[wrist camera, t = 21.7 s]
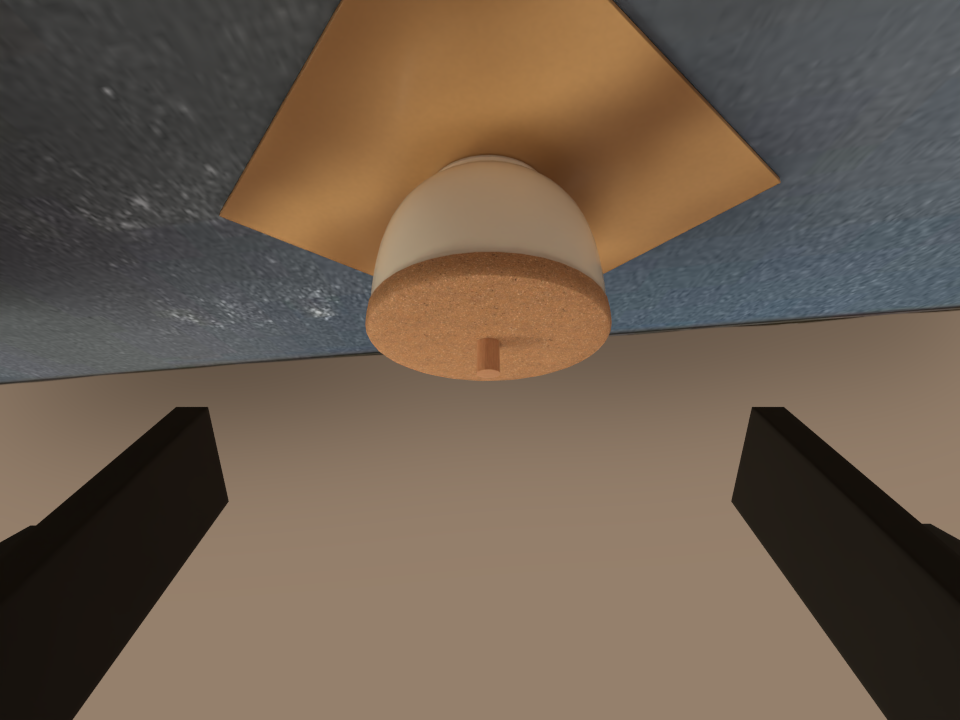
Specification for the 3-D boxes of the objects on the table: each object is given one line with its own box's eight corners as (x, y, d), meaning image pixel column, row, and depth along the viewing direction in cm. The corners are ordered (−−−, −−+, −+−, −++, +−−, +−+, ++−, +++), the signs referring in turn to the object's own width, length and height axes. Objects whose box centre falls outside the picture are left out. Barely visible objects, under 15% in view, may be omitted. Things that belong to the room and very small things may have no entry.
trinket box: (570, 263, 31) (581, 413, 28) (390, 257, 31) (378, 409, 27) (626, 118, 21) (655, 320, 18) (363, 105, 21) (338, 312, 17)
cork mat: (219, 211, 27) (219, 216, 27) (443, -180, 13) (443, -174, 13) (501, 322, 39) (501, 326, 39) (779, 177, 25) (781, 182, 25)
